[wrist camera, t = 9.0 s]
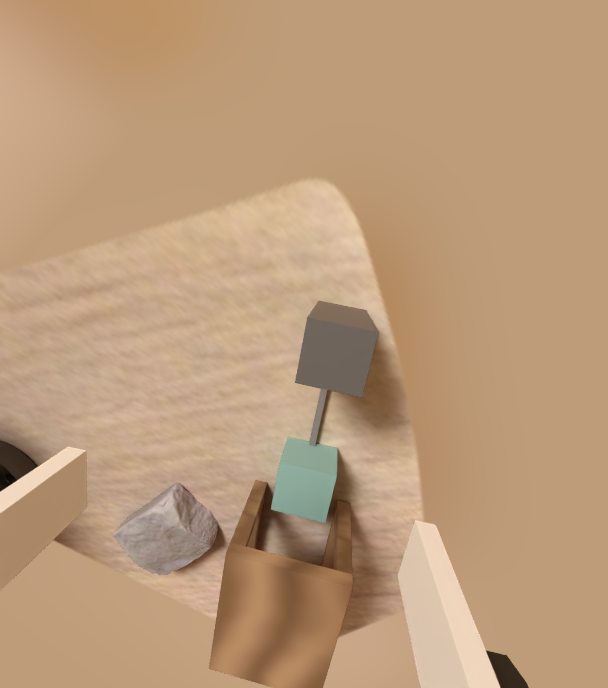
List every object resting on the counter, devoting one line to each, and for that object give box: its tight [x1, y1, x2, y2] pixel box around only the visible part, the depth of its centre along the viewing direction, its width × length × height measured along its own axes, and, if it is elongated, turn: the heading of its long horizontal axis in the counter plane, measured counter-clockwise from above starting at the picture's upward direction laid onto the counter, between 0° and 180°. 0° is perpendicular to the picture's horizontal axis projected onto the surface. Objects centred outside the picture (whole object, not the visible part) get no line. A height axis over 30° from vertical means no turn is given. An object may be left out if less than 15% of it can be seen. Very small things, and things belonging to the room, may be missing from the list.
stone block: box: [113, 484, 218, 575], centre depth 40 cm, size 12×5×10 cm
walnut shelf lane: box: [209, 480, 353, 688], centre depth 35 cm, size 12×16×10 cm
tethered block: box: [271, 301, 379, 523], centre depth 29 cm, size 6×22×11 cm, turn 169°
